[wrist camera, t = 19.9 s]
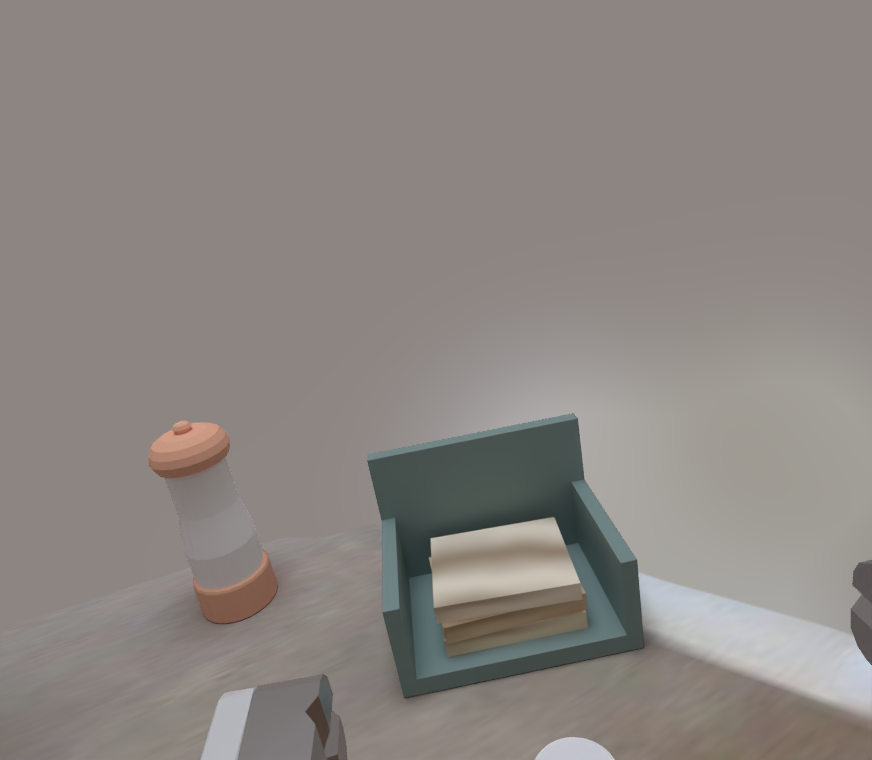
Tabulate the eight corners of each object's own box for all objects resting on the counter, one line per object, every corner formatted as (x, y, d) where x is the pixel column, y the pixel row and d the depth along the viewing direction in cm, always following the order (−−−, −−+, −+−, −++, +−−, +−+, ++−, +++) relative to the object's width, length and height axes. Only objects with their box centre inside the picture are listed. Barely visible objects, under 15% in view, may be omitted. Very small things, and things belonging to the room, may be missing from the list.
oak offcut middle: (587, 608, 47) (586, 593, 47) (447, 643, 47) (444, 628, 46) (551, 542, 56) (549, 528, 55) (431, 571, 55) (428, 557, 55)
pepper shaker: (198, 633, 58) (127, 449, 51) (207, 585, 64) (146, 418, 58) (277, 610, 59) (217, 427, 52) (278, 565, 65) (225, 399, 59)
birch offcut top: (582, 599, 46) (580, 583, 46) (437, 624, 47) (433, 608, 46) (556, 531, 55) (554, 516, 54) (433, 552, 55) (430, 538, 55)
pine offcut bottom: (588, 627, 48) (586, 612, 47) (447, 657, 47) (444, 641, 47) (556, 558, 56) (554, 544, 56) (437, 582, 56) (434, 568, 55)
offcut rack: (644, 647, 47) (631, 486, 42) (404, 698, 46) (364, 540, 42) (588, 546, 59) (573, 413, 55) (398, 585, 59) (367, 454, 54)
